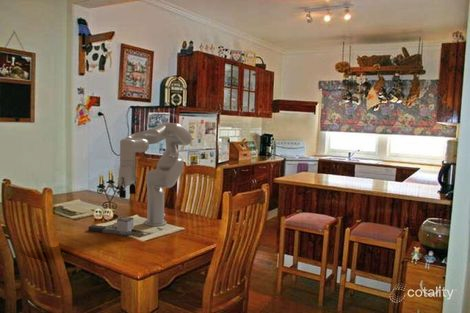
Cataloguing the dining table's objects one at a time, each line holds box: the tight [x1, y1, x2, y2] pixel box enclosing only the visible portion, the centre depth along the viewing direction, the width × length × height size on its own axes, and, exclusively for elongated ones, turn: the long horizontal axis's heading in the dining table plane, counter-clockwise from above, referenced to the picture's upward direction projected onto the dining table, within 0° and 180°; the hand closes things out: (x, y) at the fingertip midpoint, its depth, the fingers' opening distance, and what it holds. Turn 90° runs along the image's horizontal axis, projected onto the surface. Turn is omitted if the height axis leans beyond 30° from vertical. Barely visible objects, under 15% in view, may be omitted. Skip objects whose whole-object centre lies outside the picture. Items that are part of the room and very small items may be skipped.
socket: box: [116, 216, 134, 232], centre depth 197 cm, size 6×6×6 cm
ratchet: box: [87, 224, 132, 237], centre depth 199 cm, size 6×24×6 cm, turn 77°
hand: (127, 195), depth 196 cm, fingers open, 9 cm apart
